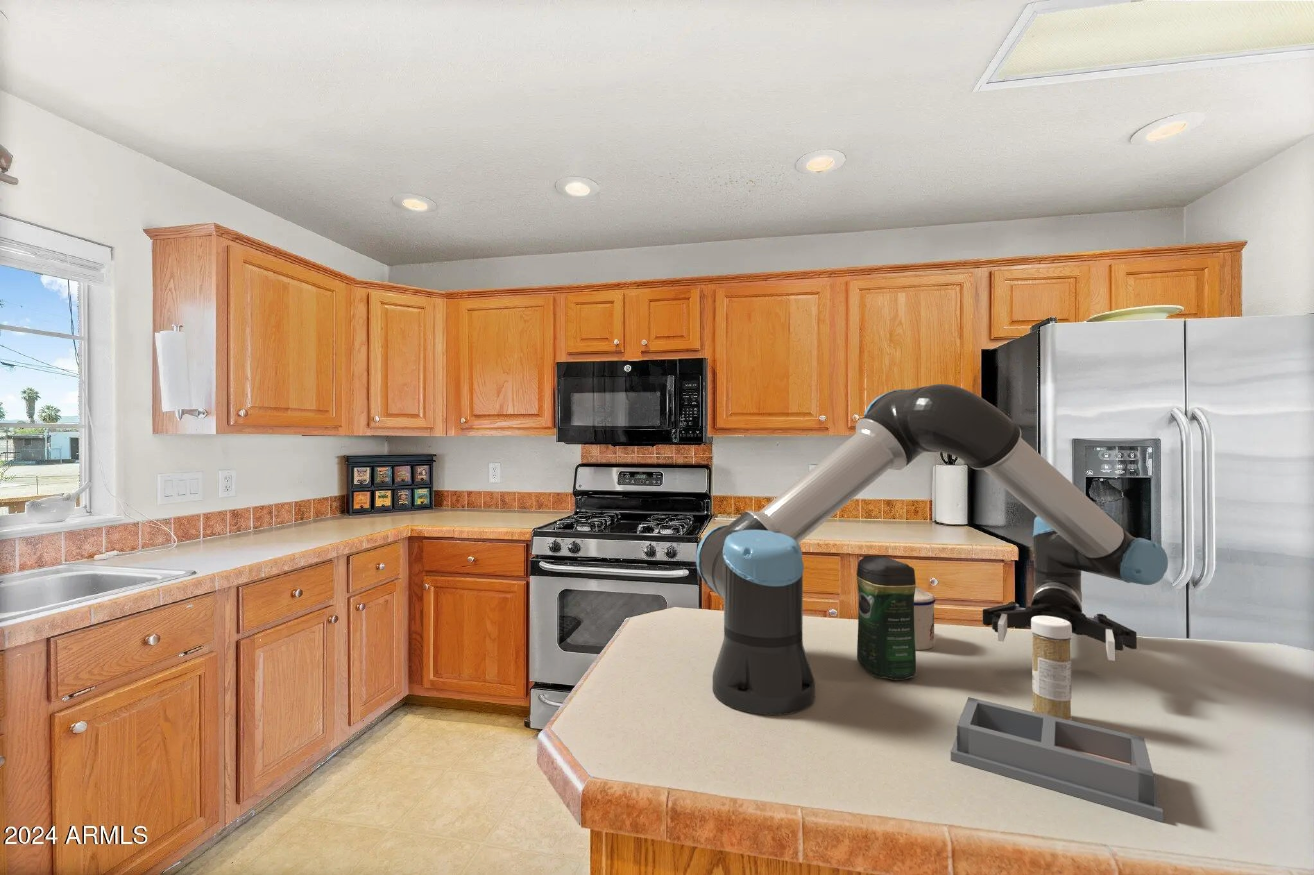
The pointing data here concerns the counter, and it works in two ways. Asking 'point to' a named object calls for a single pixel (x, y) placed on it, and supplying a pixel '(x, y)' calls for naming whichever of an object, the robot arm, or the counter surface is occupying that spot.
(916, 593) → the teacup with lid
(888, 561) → the coffee jar
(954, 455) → the robot arm
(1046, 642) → the sprinkles bottle
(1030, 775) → the bottle caddy
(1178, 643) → the counter surface
